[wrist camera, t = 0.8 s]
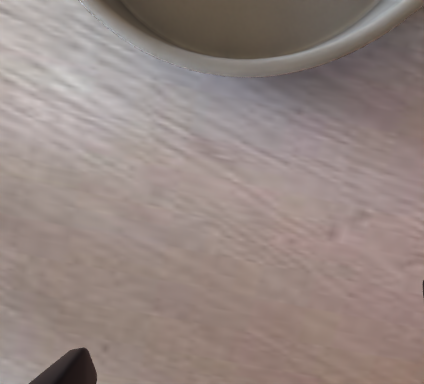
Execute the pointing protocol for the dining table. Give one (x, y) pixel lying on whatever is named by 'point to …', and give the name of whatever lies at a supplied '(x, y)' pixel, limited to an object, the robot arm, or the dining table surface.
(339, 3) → the cake pan
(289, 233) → the dining table surface
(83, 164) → the dining table surface
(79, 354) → the robot arm
